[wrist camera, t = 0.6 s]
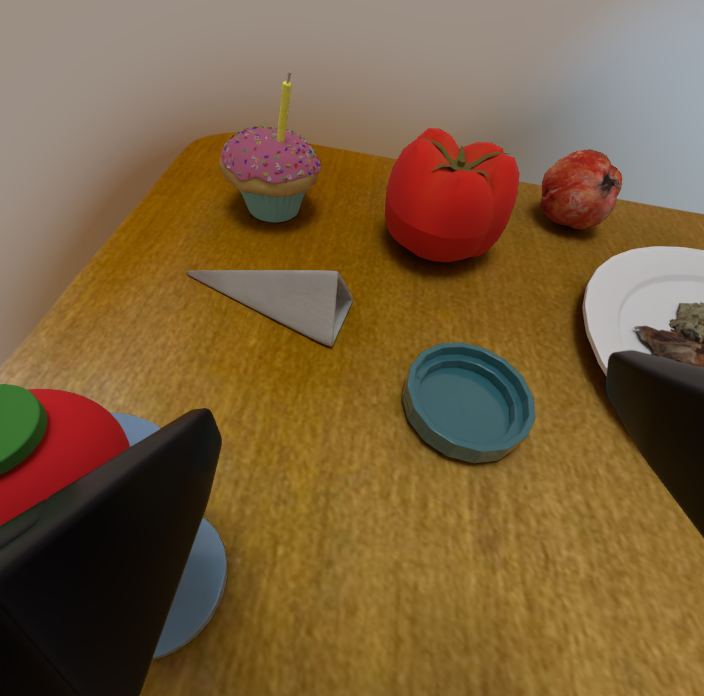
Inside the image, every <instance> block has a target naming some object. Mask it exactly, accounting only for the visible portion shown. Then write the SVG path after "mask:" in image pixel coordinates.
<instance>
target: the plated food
mask: <svg viewBox="0 0 704 696" xmlns="http://www.w3.org/2000/svg"><path fill="white" fill-rule="evenodd" d="M582 309H583V316H584V322H585V329H586V334H587V337H588V339H589V342H590V344H591V346H592V349H593V351H594V354H595V356H596V359H597V361H598V364H599V365H600V367H601V369H602V370H603V372H604V373H605V375H606V377H607V366H608V359H609V356H610V355H611V354H612V353H614V352H620V351H627V350H635V351H639V352H643V353H647V354H651V355H655V356H659V357H663V358H667V359H671V360H675V361H679V362H683V363H687V364H691V365H695V366H699V367H703V368H704V250H698V249H691V248H684V247H661V246H654V247H646V248H639V249H632V250H629V251H626V252H624V253H621V254H618V255H615V256H613V257H611V258H610V259H609V260H607V261H606V262H605V263H604V264H602V265H601V266H600V267H598V268H597V270H596V271H595V273H594V274H593V276H592V278H591V279H590V281H589V282H588V284H587V286H586V289H585V295H584V300H583V306H582Z"/></svg>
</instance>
